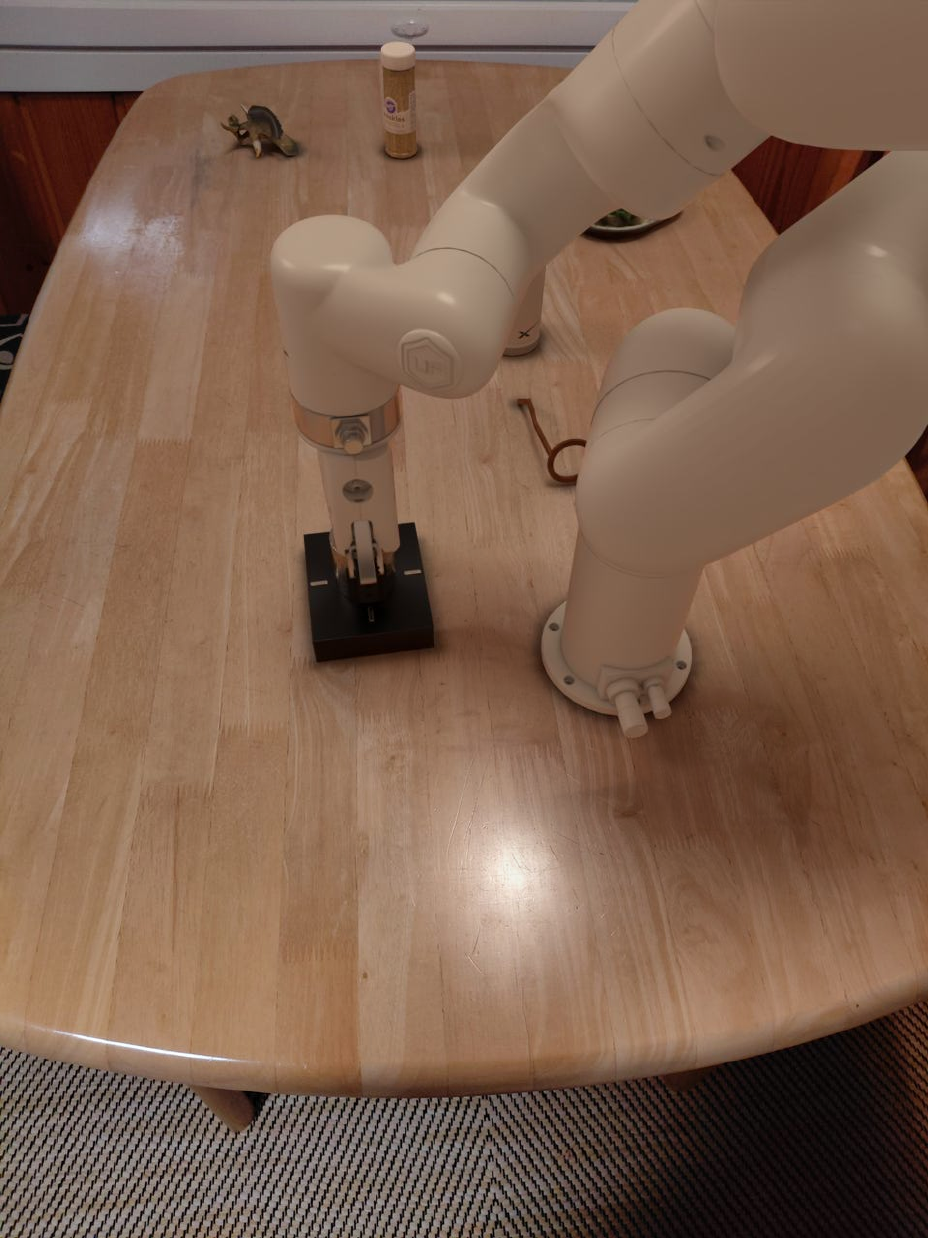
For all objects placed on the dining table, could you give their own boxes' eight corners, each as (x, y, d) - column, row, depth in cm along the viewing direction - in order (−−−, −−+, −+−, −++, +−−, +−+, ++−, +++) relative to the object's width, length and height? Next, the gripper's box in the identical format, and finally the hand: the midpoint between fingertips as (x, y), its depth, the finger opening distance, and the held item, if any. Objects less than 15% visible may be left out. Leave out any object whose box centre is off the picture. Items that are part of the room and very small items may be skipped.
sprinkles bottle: (380, 155, 131) (374, 51, 120) (393, 141, 133) (388, 37, 122) (410, 161, 130) (407, 56, 119) (422, 147, 132) (420, 43, 122)
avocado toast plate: (624, 152, 132) (629, 118, 128) (715, 206, 123) (723, 172, 120) (517, 192, 125) (519, 157, 121) (605, 253, 116) (610, 217, 113)
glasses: (547, 488, 91) (551, 450, 87) (516, 402, 99) (519, 363, 95) (674, 471, 93) (685, 433, 89) (634, 388, 100) (642, 349, 96)
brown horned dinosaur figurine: (222, 155, 128) (283, 150, 125) (216, 97, 125) (277, 90, 123) (248, 163, 135) (305, 158, 132) (242, 108, 132) (300, 101, 130)
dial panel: (434, 647, 79) (434, 625, 77) (316, 662, 78) (312, 640, 75) (415, 543, 86) (414, 520, 84) (307, 556, 85) (303, 532, 83)
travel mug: (537, 360, 103) (554, 183, 87) (479, 352, 104) (484, 175, 88) (545, 327, 107) (563, 152, 91) (489, 319, 107) (496, 144, 92)
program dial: (400, 597, 78) (397, 552, 74) (338, 605, 78) (331, 559, 73) (392, 552, 81) (389, 505, 77) (333, 559, 81) (326, 512, 76)
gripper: (417, 482, 60) (423, 647, 74) (386, 324, 70) (397, 496, 85) (300, 495, 59) (329, 659, 73) (286, 333, 69) (314, 505, 84)
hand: (365, 570), depth 79 cm, fingers closed on program dial, 5 cm apart
